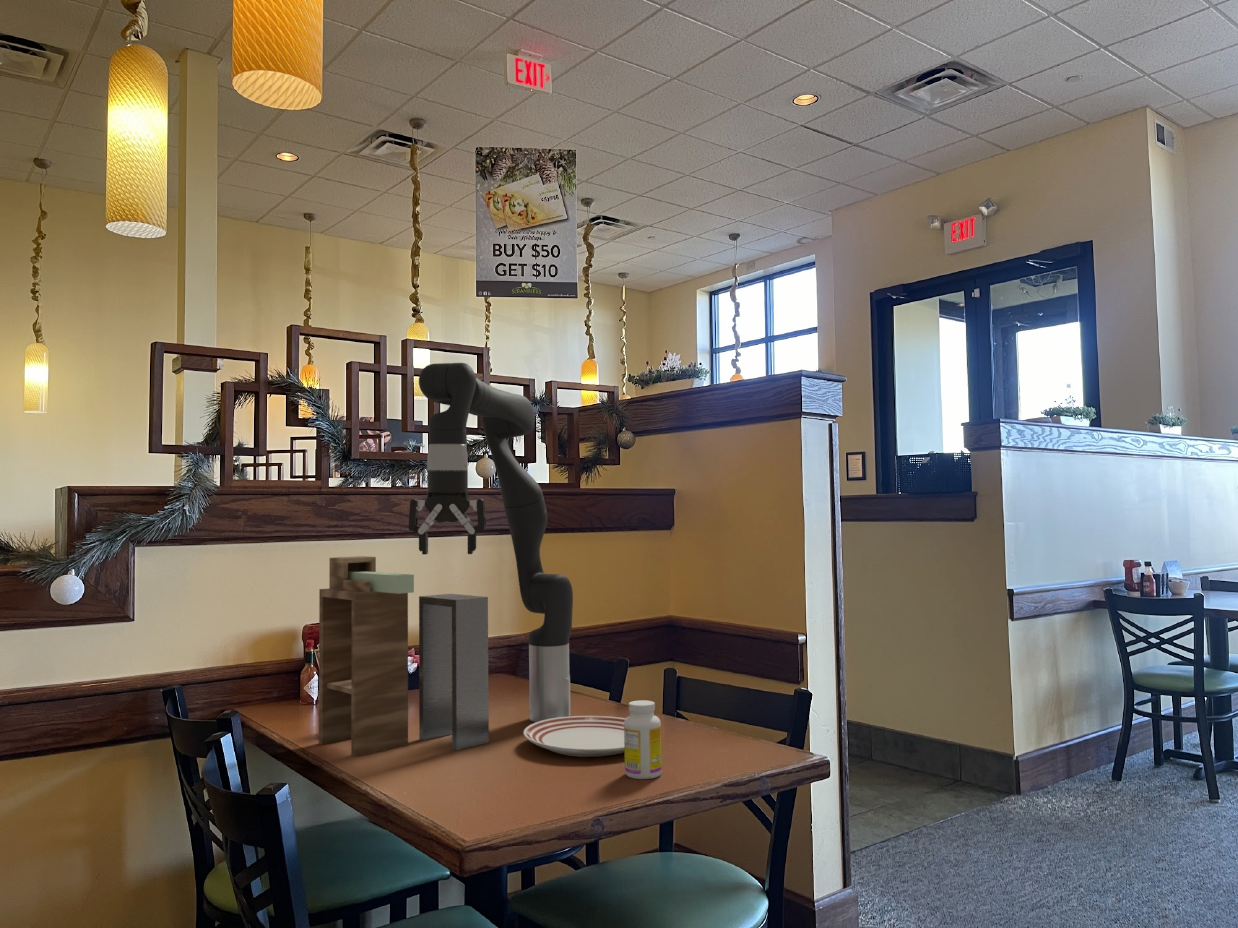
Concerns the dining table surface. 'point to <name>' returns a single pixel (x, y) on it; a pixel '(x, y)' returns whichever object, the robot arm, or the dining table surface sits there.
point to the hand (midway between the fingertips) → (447, 553)
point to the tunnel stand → (362, 661)
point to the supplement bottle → (642, 741)
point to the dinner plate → (579, 735)
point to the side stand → (454, 669)
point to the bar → (385, 581)
